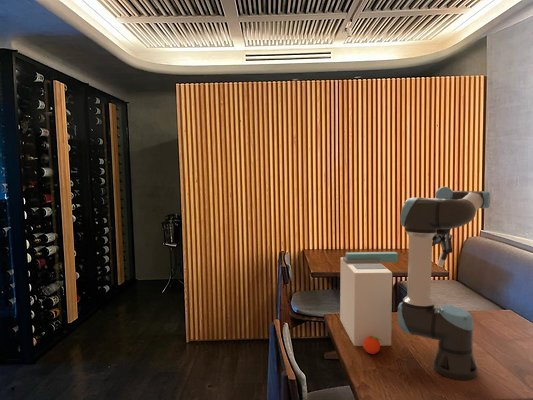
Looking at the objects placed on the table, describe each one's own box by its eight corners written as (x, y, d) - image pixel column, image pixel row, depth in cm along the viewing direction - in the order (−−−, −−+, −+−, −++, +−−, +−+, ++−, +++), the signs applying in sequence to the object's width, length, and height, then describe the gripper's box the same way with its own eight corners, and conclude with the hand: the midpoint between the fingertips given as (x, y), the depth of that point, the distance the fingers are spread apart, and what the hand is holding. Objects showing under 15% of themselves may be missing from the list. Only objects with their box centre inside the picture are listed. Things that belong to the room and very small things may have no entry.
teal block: (395, 260, 195) (395, 251, 194) (397, 261, 191) (398, 253, 190) (345, 260, 194) (345, 252, 194) (347, 262, 190) (347, 254, 190)
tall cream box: (371, 319, 204) (372, 254, 201) (391, 345, 174) (392, 269, 172) (340, 319, 204) (340, 254, 201) (354, 346, 174) (354, 269, 171)
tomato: (382, 350, 169) (383, 334, 169) (383, 358, 163) (383, 341, 162) (363, 348, 171) (363, 332, 171) (362, 355, 165) (362, 339, 164)
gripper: (469, 227, 183) (455, 270, 177) (430, 230, 206) (417, 268, 201) (456, 219, 181) (442, 263, 176) (419, 224, 204) (405, 262, 199)
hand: (429, 266), depth 188 cm, fingers open, 13 cm apart
